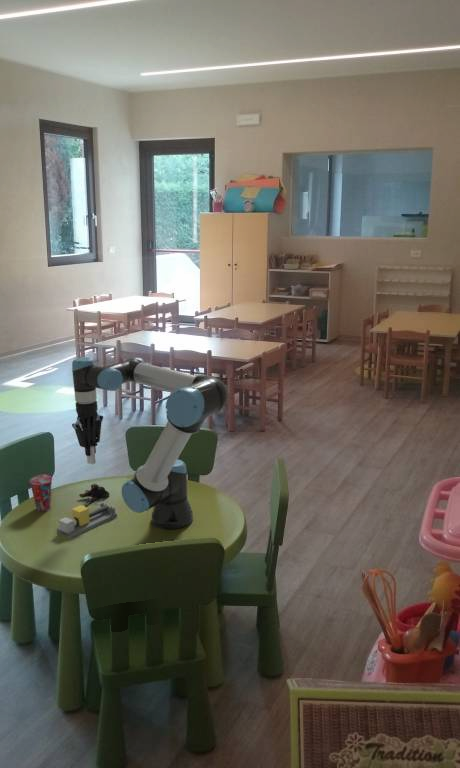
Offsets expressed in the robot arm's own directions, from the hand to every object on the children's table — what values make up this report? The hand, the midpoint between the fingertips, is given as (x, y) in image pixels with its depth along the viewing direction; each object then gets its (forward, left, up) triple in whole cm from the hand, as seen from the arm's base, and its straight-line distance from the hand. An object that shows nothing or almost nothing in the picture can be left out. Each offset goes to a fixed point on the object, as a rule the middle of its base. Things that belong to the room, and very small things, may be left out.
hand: (91, 462), depth 251 cm
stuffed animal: (+13, -10, -22) cm, 27 cm away
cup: (+21, +8, -22) cm, 31 cm away
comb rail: (-3, +6, -21) cm, 22 cm away
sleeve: (-3, +9, -20) cm, 22 cm away
